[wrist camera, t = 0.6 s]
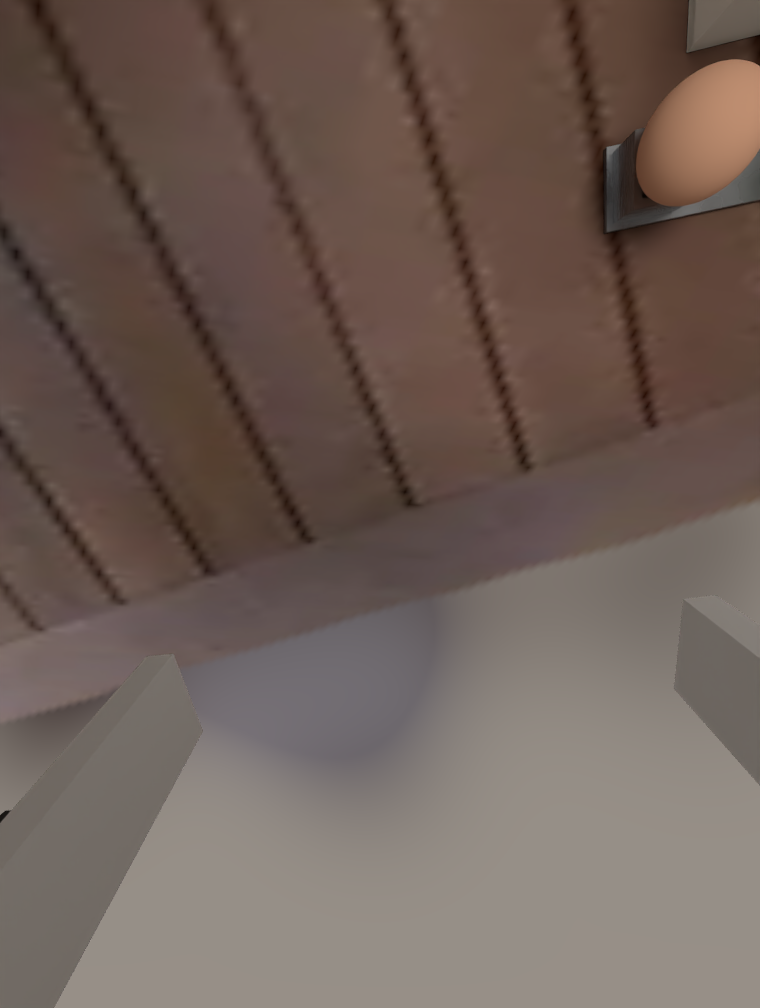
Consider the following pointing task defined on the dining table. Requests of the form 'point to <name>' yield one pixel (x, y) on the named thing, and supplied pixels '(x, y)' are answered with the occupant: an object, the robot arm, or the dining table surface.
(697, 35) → the open square box
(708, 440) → the dining table surface
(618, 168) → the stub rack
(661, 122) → the ball terracotta
